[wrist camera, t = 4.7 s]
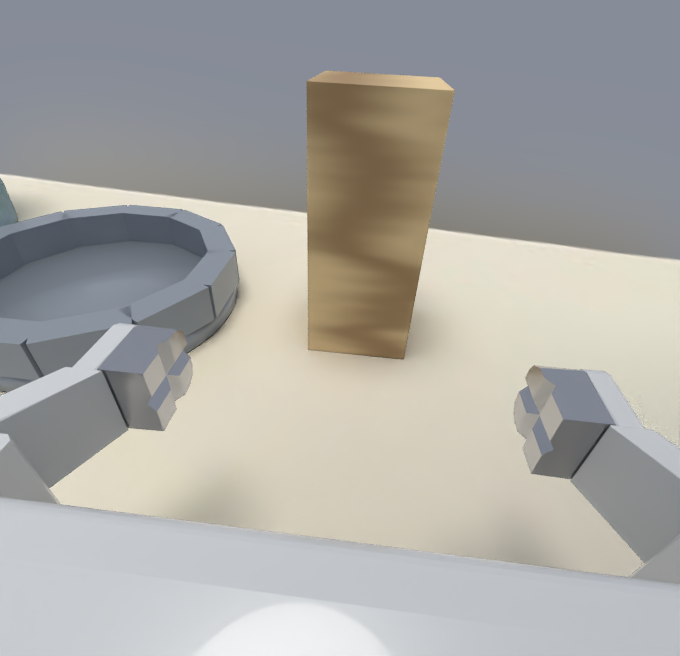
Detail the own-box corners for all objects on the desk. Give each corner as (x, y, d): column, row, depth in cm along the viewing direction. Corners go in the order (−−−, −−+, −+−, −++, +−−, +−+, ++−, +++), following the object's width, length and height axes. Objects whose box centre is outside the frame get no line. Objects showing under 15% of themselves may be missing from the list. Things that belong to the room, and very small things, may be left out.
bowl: (264, 255, 29) (261, 215, 27) (174, 411, 17) (157, 359, 15) (70, 237, 30) (54, 198, 28) (-147, 374, 18) (-199, 321, 16)
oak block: (401, 306, 24) (439, 77, 17) (403, 359, 20) (454, 90, 13) (321, 298, 25) (326, 70, 17) (308, 349, 21) (306, 80, 13)
